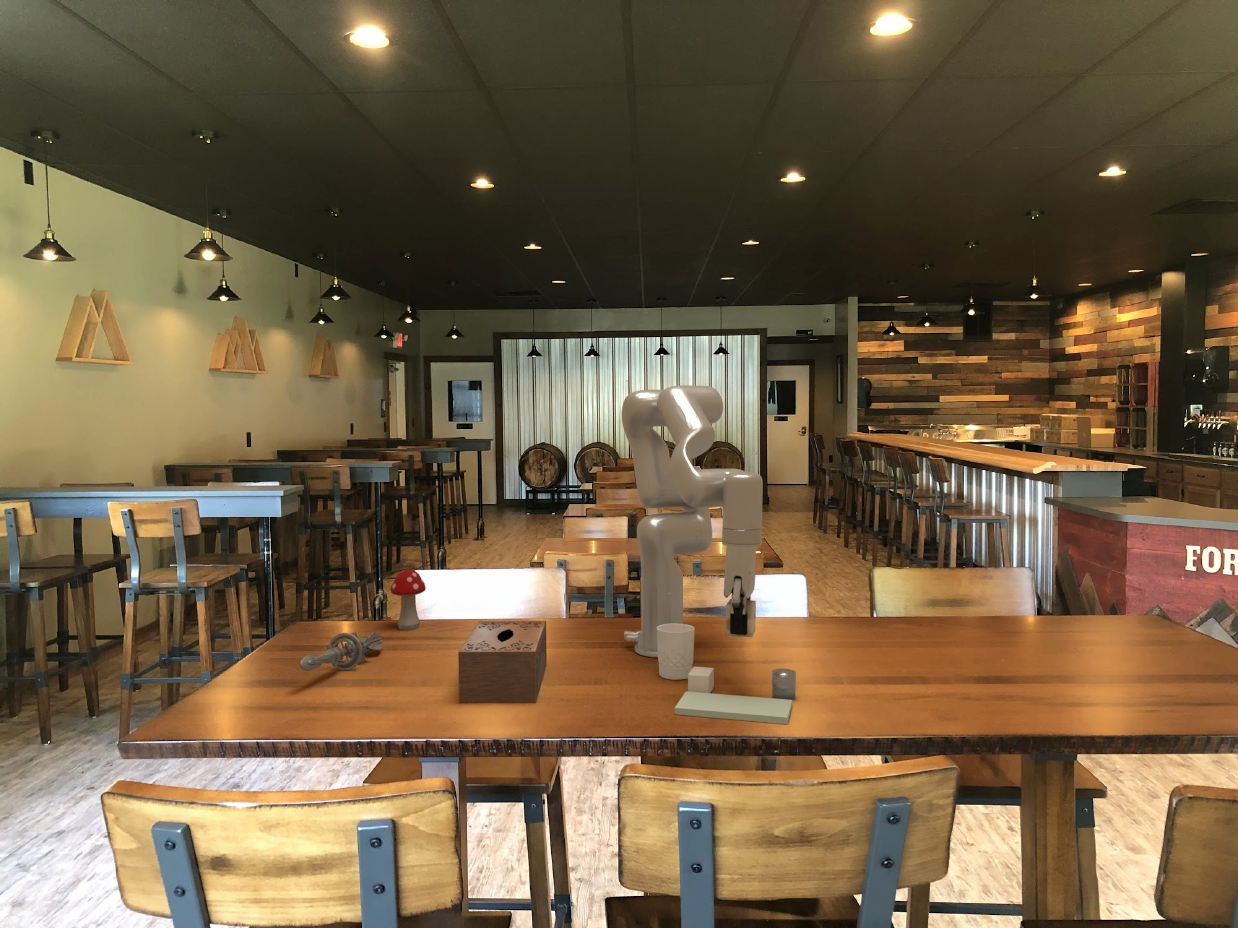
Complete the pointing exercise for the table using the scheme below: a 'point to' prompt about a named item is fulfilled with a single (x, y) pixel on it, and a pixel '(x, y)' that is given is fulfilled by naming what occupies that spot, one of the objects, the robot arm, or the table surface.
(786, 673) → the metal cylinder
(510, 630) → the tissue box cover
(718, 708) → the sage board
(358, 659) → the spaceship
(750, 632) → the maple block
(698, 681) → the white block
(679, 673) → the white cup
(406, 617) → the decorative mushroom
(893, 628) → the table surface
